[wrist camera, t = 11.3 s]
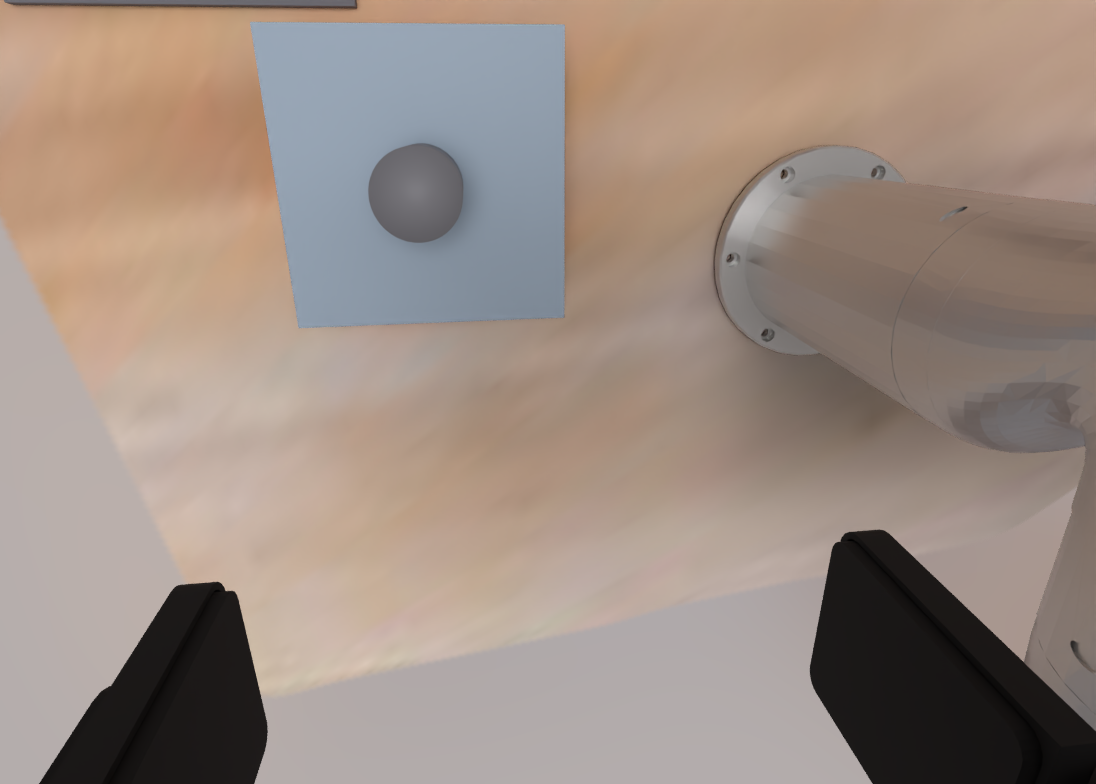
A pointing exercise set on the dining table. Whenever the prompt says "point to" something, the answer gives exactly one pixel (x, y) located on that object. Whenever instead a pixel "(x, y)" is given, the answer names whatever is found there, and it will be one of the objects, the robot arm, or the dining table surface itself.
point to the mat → (197, 3)
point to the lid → (417, 168)
